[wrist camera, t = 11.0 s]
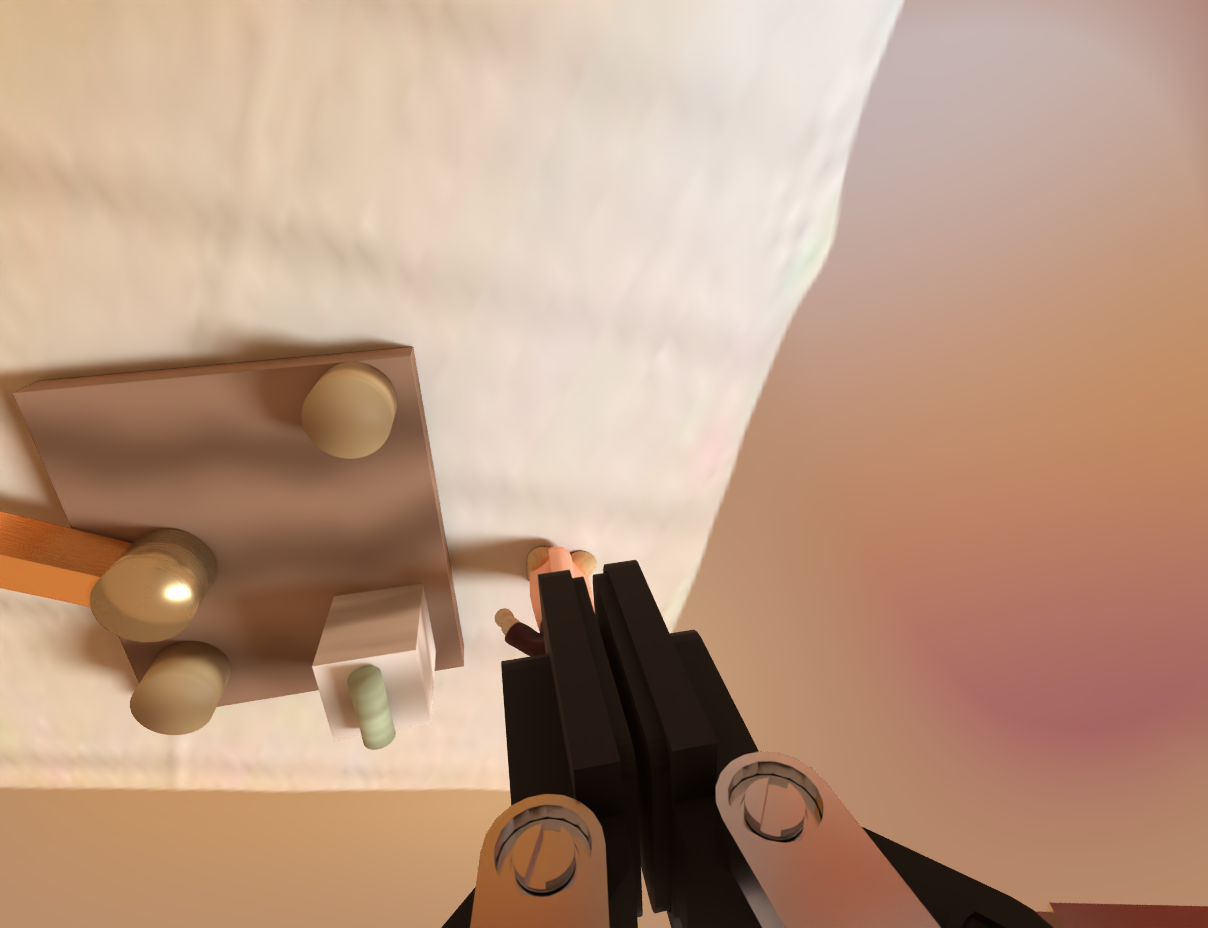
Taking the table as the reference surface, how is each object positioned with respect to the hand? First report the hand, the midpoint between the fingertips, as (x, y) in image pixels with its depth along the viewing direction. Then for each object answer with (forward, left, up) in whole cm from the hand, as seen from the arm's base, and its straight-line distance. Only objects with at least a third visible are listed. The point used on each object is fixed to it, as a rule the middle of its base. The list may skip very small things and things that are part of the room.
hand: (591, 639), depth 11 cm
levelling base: (+11, -14, -27) cm, 32 cm away
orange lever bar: (+9, -22, -25) cm, 35 cm away
